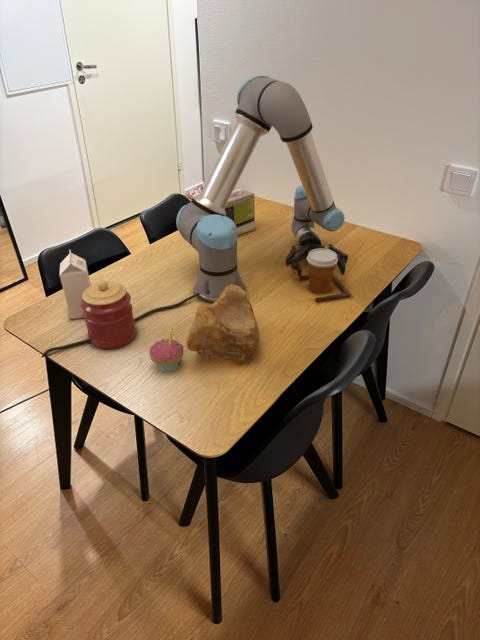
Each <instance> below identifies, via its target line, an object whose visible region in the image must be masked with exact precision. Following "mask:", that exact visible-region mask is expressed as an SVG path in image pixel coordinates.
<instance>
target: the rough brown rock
mask: <svg viewBox="0 0 480 640" xmlns="http://www.w3.org/2000/svg"><path fill="white" fill-rule="evenodd" d="M248 296H249V295H248V294H247V292H246V291H245V290H244V288H243V289H241V288H240V287H239V286H237V285H234V284H231V285H228V286H227V287H226V288H225V289H224V291H223V292H222V293H221V295H220V297H219V298H218V299H217V300H216V301H215V302H214V303H211V304H209V305H207V304H204V303H203V304H202V303H201V304H200V305H199V306H197V309H196V311H195V315H194V317H193V321H192V324H191V326H190V329H189V332H188V335H187V338H186V347H187V350H189V351H190V352H196V353H197V354H198V356H199V357H200V358H201V359H202V360H204V359H206V360H209V359H211V358H212V357H214V358H215V357H216V358H218V359H222V360H229V361H232V362H233V363H238V364H241V363H244V362H245V361H246V360H248V358H249V356H251V354H252V353H253V352H254V351H255V350H256V349H257V346H258V344H259V340H260V331H259V326H258V322H257V318H256V315H255V312H254V309H253V306H252V304H251V303H252V302H250V298H249V297H248Z"/></svg>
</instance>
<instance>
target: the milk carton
mask: <svg viewBox="0 0 480 640" xmlns="http://www.w3.org/2000/svg"><path fill="white" fill-rule="evenodd" d="M59 279H60V283H61V286H62V290H63V294H64V298H65V302H66V305H67V309H68V313H69V318H70V320H75V319H80V318H81V319H83V318H84V317H83V312H84V310H83V309H82V307H81V301H82V299H83V298H82V294H83V292H84V291H85V290H86V289H87V288H88V287H90V286H91V285H92V283H91V280H90V279H91V278H90V274H89V270H88V265H87V261H86V260H85V258H82V257H80V256H78V255H77V254H74V253H73V252H72V251H71V249H69V253H68V255H66V257H65V258H64V259H63V260H62V261H61V262H60V264H59Z"/></svg>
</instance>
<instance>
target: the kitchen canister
mask: <svg viewBox="0 0 480 640" xmlns="http://www.w3.org/2000/svg"><path fill="white" fill-rule="evenodd" d="M82 298H83V299H82V301H81V307H82V309H83V310H84V312H83V317H82V318H83V319H84V321H85V326H86V330H87V337H88V339H90V343H91V344H92V345H93V346H94V347H95V348H99V349H103V350H113V349H118V348H121V347H124V346H126V345H128V344H130V342H132V341H133V340H134V338H135V336H136V332H137V331H136V330H137V327H136V323H135V322H134V319H135V318H134V312H133V304H132V303H131V301H132V300H131V299H132V297H131V294H130V293H129V291H127V288H126V286H125V285H123V284H122V283H120V282H117V281H113V280H104V279H103V280H99V281H98V282H95V283H93V284H91V286H90V287H88V288H87V289H86V290H85V291H84V292H83V294H82Z"/></svg>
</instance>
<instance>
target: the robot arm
mask: <svg viewBox="0 0 480 640" xmlns="http://www.w3.org/2000/svg"><path fill="white" fill-rule="evenodd" d="M236 102H237V108H236V109H235V111H234V118H235V123H234V125H233V127H232V128H231V131H230V134H229V135H228V138H227V139H226V141H225V143H224V145H223V147H222V150H221V151H220V153H219V155H218V158H217V160H216V162H215V163H214V165H213V167H212V169H211V171H210V174H209V176H208V177H207V179H206V181H205V184H204V185H203V188H202V189H201V190H200V193H199V194H197V195H194V196H192V199H191V201H190V202H188V203H187V204H185V205H183V206H182V207H181V208H180V209H179V211H178V213H177V216H176V221H175V222H176V228H177V230H178V231H177V232H179V234H180V236H181V237H182V239H183V240H184V241H186V242H187V243H188V244H189V245H190V246H191V247H192V248H193V249H195V251H196V252H197V254H198V265H199V271H198V274H197V277H196V281H195V285H194V290H195V291H194V292H195V294H193V295H190V296H188V297H187V298H185V299H183V300H181V301H179V302H177V303H174V304H171V305H165V306H160V307H157V308H154V309H151V310H149V311H146V312H144V313H142V314H141V315H139V316H137V317H135V318H134V323H135V322H137V321H139V320H142V319H143V318H145V317H147V316H149V315H151V314H153V313H156V312H159V311H165V310H169V309H173V308H177V307H179V306H181V305H184V304H186V303H187V302H188V301H191V300H192V299H194V298H198V299H200V300H201V301H203V302H206V303H211V304H213V303H214V302H215V301H216V300H217V299H218V298H219V297H220V295H221V293H222V292H223V291H224V289H225V288H226V287H227V286H228V285H231V284H234V285H237V286H239V287H240V288H241V289H243V290H244V282H243V277H242V275H241V274H240V271H239V269H238V235H237V231H236V225H235V223H234V222H233V221H232V220H231V219H230V218H228V217H226V212H225V205H226V203H227V201H228V199H229V197H230V195H231V194H232V192H233V190H234V189H235V188H236V185H237V183H238V182H239V180H240V178H241V176H242V174H243V172H244V170H245V168H246V167H247V164H248V162H249V160H250V159H251V157H252V155H253V153H254V151H255V149H256V146H257V145H258V143H259V141H260V139H261V138H262V136H265V135H268V134H269V133H270V131H271V129H272V127H273V128H274V129H275V131H276V132H277V133H278V136H279V138H280V140H281V142H282V143H284V144H286V146H287V149H288V151H289V154H290V156H291V159H292V162H293V165H294V167H295V170H296V172H297V175H298V177H299V180H300V183H301V185H299V186H298V187H296V188H295V192H294V198H293V201H294V202H293V203H294V204H293V217H292V220H291V223H290V227H291V228H290V229H291V232H292V234H293V236H294V238H295V242H296V243H297V246H298V247H296V245H291V250H290V251H289V252H288V253H287V255H286V257H285V263H284V264H285V266H286V267H288V266H290V268H291V269H292V270H293V271H296V274H297V277H298V278H300V277H301V276H302V267H301V264H300V263H301V262H302V261H304V260H307V256H308V254H309V252H310V251H311V250H314V249H319V248H322V249H329V250H332V251H334V252H335V253H336V254H337V257H338V262H337V263H336V267H337V268H338V270H339V272H340V274H341V276H345V272H346V264H347V263H348V261H349V255H348V254H347V253H345V252H343V251H342V250H340V249H338V248H336V247H335V246H334V245H333V244H332V243H328V245H327V246H325V245H323V244H322V241H321V239H320V237H319V235H318V233H317V230H316V229H315V224H316V225H318V226H319V227H321V228H322V229H323V230H326V231H327V232H328V231H329V232H332V233H333V232H336V231H339V230H340V229H341V228H342V226H343V225H344V222H345V213H344V212H343V211H342V210H341V209H340V208H338V207H337V206H336V204H335V201H334V198H333V195H332V192H331V189H330V185H329V183H328V179H327V176H326V174H325V170H324V168H323V165H322V162H321V159H320V156H319V153H318V149H317V147H316V144H315V141H314V140H315V139H314V138H313V135H312V131H313V128H314V126H313V124H312V120H311V115H310V114H309V112H308V108H307V106H306V104H305V102H304V101H303V98H302V97H301V94H300V93H299V92H298V91H297V89H296V88H295V87H294V86H292V85H291V84H290V83H288V82H286V81H282V80H278V79H275V78H272V77H269V76H266V75H253V76H251V77H248V78H247V79H245V80H244V82H243V83H241V85H240V86H239V88H238V90H237V94H236ZM87 343H91V341H90V339H89V338H87V339H83V340H79V341H76V342H73V343H72V342H71V343H67V344H65V345H61V346H60V345H59V346H53V347H51V348H48V349H46V350H45V351H44V352H43V353H42V355H41V358H45V357H46V356H47V355H48V354H49V353H52V352H54V351H55V352H56V351H60V350H65V349H68V348H73V347H76V346H80V345H83V344H87Z"/></svg>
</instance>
